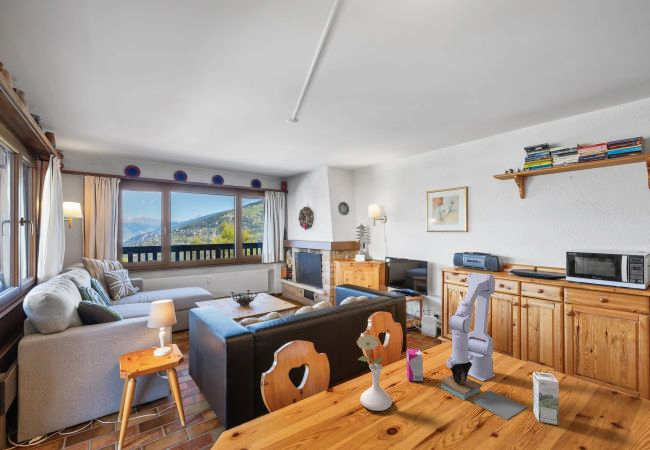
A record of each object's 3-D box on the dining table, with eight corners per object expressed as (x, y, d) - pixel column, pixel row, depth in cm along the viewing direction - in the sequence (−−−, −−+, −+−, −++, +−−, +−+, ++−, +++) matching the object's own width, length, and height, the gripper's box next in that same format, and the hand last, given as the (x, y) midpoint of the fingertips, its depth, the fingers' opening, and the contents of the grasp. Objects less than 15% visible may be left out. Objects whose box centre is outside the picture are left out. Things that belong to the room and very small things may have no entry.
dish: (456, 381, 125) (456, 375, 125) (479, 392, 117) (479, 386, 117) (441, 388, 120) (441, 382, 120) (464, 400, 112) (464, 393, 112)
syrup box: (552, 415, 102) (551, 373, 103) (559, 426, 97) (558, 381, 97) (532, 412, 104) (532, 370, 104) (538, 422, 99) (538, 378, 99)
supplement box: (420, 375, 131) (419, 349, 131) (423, 382, 125) (423, 354, 125) (406, 375, 131) (406, 348, 131) (408, 381, 125) (408, 354, 125)
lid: (456, 374, 126) (456, 363, 126) (481, 386, 117) (481, 374, 117) (439, 381, 120) (439, 370, 120) (464, 394, 111) (464, 382, 111)
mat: (490, 391, 118) (490, 390, 118) (526, 407, 107) (526, 406, 107) (470, 401, 111) (470, 400, 111) (507, 420, 100) (507, 419, 100)
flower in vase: (395, 400, 112) (394, 332, 112) (388, 417, 101) (387, 343, 102) (361, 392, 117) (361, 328, 118) (351, 408, 107) (351, 337, 107)
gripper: (461, 339, 126) (462, 372, 126) (439, 347, 118) (439, 381, 118) (478, 345, 120) (478, 379, 120) (455, 353, 112) (455, 390, 112)
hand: (460, 381), depth 118 cm, fingers closed on lid, 3 cm apart
